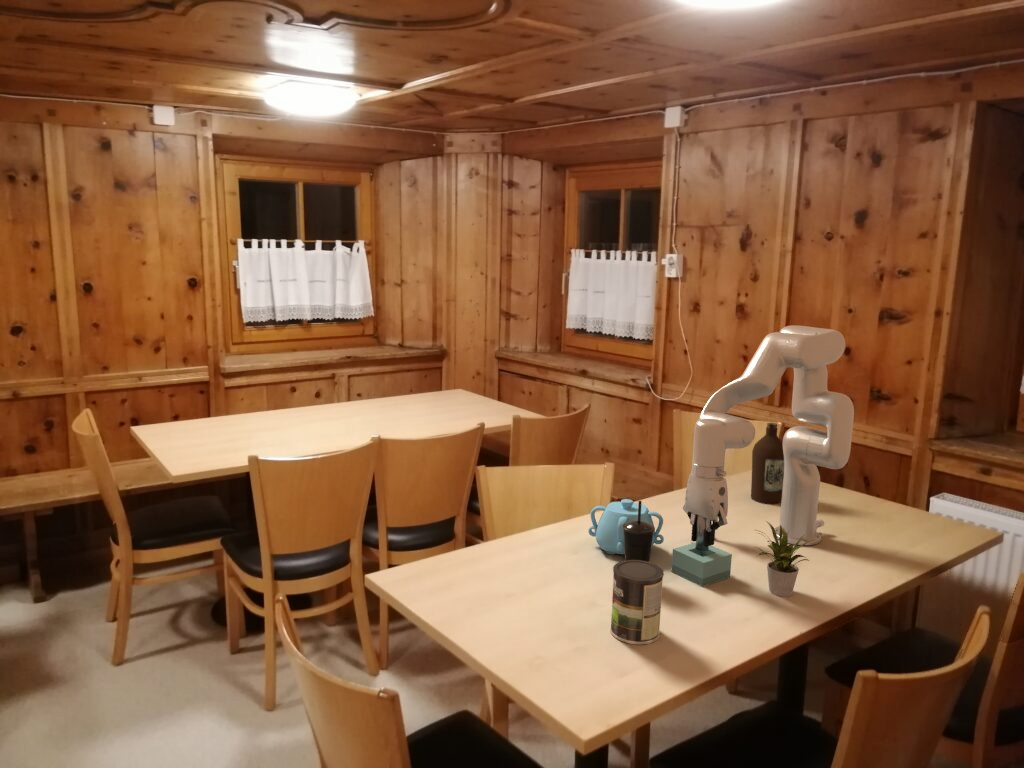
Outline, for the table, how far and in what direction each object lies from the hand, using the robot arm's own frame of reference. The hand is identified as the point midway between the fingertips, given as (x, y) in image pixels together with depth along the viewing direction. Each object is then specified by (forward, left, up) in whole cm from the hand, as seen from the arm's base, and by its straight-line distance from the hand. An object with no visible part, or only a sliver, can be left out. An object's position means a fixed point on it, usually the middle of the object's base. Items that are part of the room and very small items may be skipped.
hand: (702, 542), depth 192 cm
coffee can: (+34, +13, -9) cm, 37 cm away
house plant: (-9, +15, -9) cm, 20 cm away
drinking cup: (+16, -6, -9) cm, 19 cm away
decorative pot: (+5, -22, -9) cm, 24 cm away
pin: (0, 0, -2) cm, 2 cm away
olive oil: (-62, -29, -9) cm, 69 cm away
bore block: (0, 0, -8) cm, 8 cm away
